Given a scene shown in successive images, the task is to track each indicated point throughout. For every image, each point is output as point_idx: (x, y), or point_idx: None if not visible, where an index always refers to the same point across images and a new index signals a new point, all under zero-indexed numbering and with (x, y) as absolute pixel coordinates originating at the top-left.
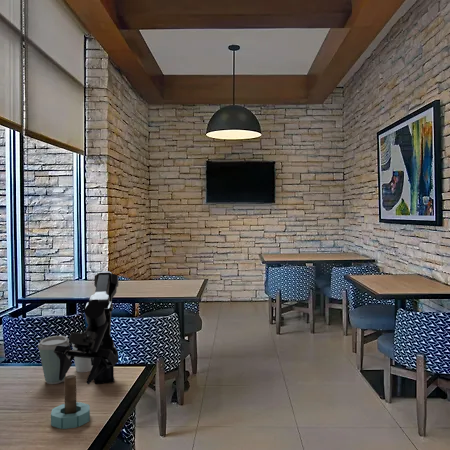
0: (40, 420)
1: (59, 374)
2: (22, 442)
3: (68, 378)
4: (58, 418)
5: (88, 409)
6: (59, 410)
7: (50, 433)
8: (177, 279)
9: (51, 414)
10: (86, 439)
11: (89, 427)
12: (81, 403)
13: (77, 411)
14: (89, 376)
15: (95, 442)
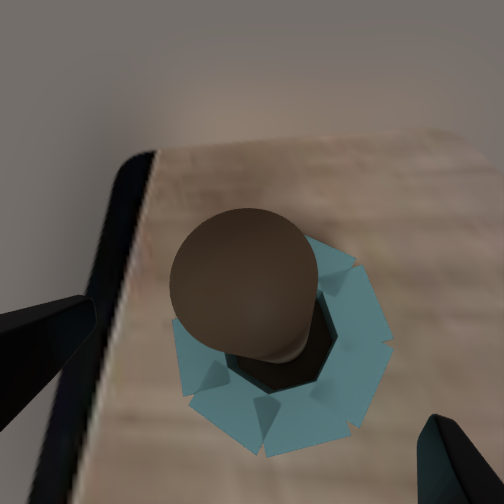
0: (438, 334)
1: (496, 478)
2: (397, 146)
3: (249, 230)
4: (306, 237)
5: (179, 331)
6: (338, 320)
7: (321, 212)
8: None
9: (361, 268)
10: (175, 180)
11: None
12: (237, 426)
13: (257, 383)
14: (18, 317)
15: (143, 166)
